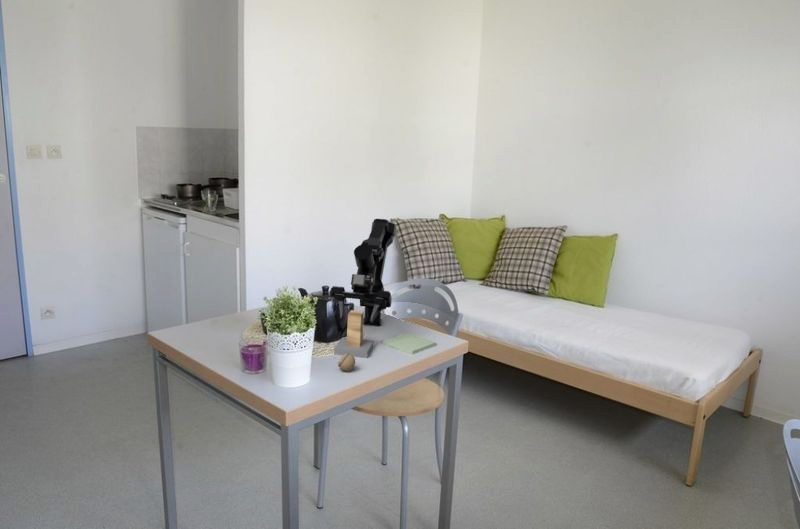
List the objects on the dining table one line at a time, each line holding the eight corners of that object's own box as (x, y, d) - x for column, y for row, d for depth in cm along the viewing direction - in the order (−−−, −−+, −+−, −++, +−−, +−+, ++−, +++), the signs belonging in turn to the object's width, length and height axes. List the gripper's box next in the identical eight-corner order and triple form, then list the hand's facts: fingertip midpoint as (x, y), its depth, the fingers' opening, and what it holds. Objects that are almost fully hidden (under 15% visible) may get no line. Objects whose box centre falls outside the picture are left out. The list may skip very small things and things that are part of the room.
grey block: (342, 343, 191) (342, 337, 190) (373, 346, 189) (373, 340, 189) (334, 354, 181) (334, 347, 180) (367, 357, 180) (367, 351, 179)
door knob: (350, 366, 173) (351, 349, 172) (357, 372, 168) (358, 355, 167) (334, 368, 170) (334, 351, 169) (341, 374, 166) (342, 357, 165)
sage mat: (383, 343, 192) (383, 340, 192) (407, 335, 201) (407, 332, 201) (412, 354, 185) (412, 351, 184) (436, 345, 194) (436, 342, 193)
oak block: (349, 341, 187) (350, 310, 185) (362, 342, 186) (363, 311, 184) (346, 345, 183) (347, 313, 181) (359, 347, 182) (361, 315, 180)
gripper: (332, 260, 187) (321, 304, 178) (392, 266, 184) (384, 310, 176) (337, 280, 196) (327, 322, 188) (394, 285, 194) (387, 328, 185)
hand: (356, 320), depth 184 cm, fingers open, 9 cm apart
